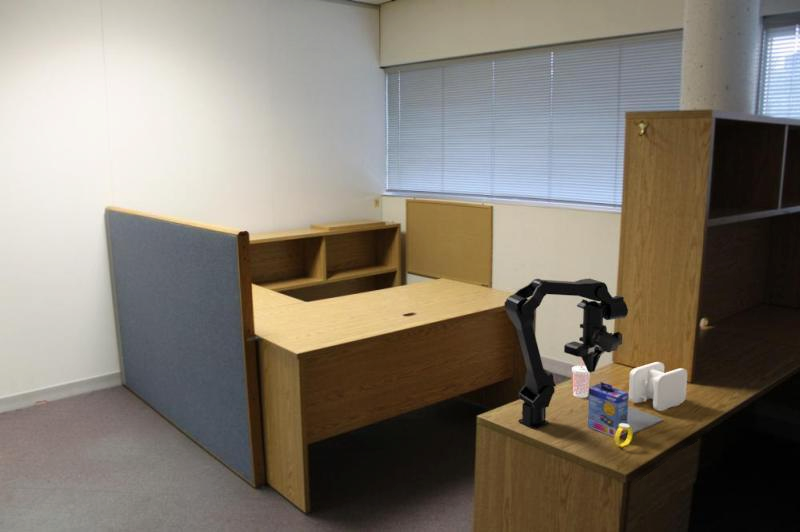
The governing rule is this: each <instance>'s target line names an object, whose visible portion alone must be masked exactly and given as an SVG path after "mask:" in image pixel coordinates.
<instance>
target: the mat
mask: <svg viewBox="0 0 800 532" xmlns="http://www.w3.org/2000/svg"><path fill="white" fill-rule="evenodd" d="M664 421H665V419H664V418H661V417H659V416H656V415H654V414H651V413H648V412H645V411H642V410H640V409H637V408H634V407H632V406H628V415H627V424H628V425H630V427H631V429H632V431H633V434H635V433H638V432H640V431H643V430H645V429H648V428H649V427H652V426H655V425H657V424H659V423H662V422H664ZM627 433H628V429H627Z"/></svg>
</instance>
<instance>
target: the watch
mask: <svg viewBox="0 0 800 532" xmlns="http://www.w3.org/2000/svg"><path fill="white" fill-rule="evenodd" d="M624 429H625V430H627V429H628V432H627V436H626V439H625V440H624V442H622V443H620V437H621V436H622V435H621V432H622V431H623V430H624ZM633 434H634V433H633V431H632V429H631V427H630V425H628V424H625V423H621V424H619V428H618V429H617V431H616V434H615V437H614V443H615V445H616V446H618V447H620V448H624V447H626V446H629V445H630V444H631V442H632V439H633ZM620 435H621V436H620Z"/></svg>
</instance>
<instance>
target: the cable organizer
mask: <svg viewBox="0 0 800 532" xmlns="http://www.w3.org/2000/svg"><path fill="white" fill-rule="evenodd" d="M687 384H688V370H686V369H685V368H682V367H680V368H679V367H678V368H676V369H673V370H670V371H667V372H665V364H664V363H662V362H660V361H654V362H652V363H647V364H645V365H641V366H638V367H634V368H633V369H632V370H631V371H630V372H629V385H628V401H629V402H633V403H635V404H639V403H643V402H647V400H650V399H652V407H653V409H654V410H656V411H659V412H663V411H664V412H665V411H666V410H668V409H670V408H672V407H677V406H680V405H681V404H683V403H684V402H685V400H686V398H687V397H686V396H687Z"/></svg>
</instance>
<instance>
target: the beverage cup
mask: <svg viewBox="0 0 800 532" xmlns="http://www.w3.org/2000/svg"><path fill="white" fill-rule="evenodd" d="M583 363H584V362H583V359H582V358H581V357H580V365H574V366H572V367H571V373H572V388H573V390H572V391H573V392H572V393H573V396H574V397H575V398H581V399H582V398H583V399H584V398H587V397H589V388H590V379H591V378H590V377H591V375H590V374H591V373H590V372H588V370H587V368H586V366H585V365H583Z"/></svg>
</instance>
